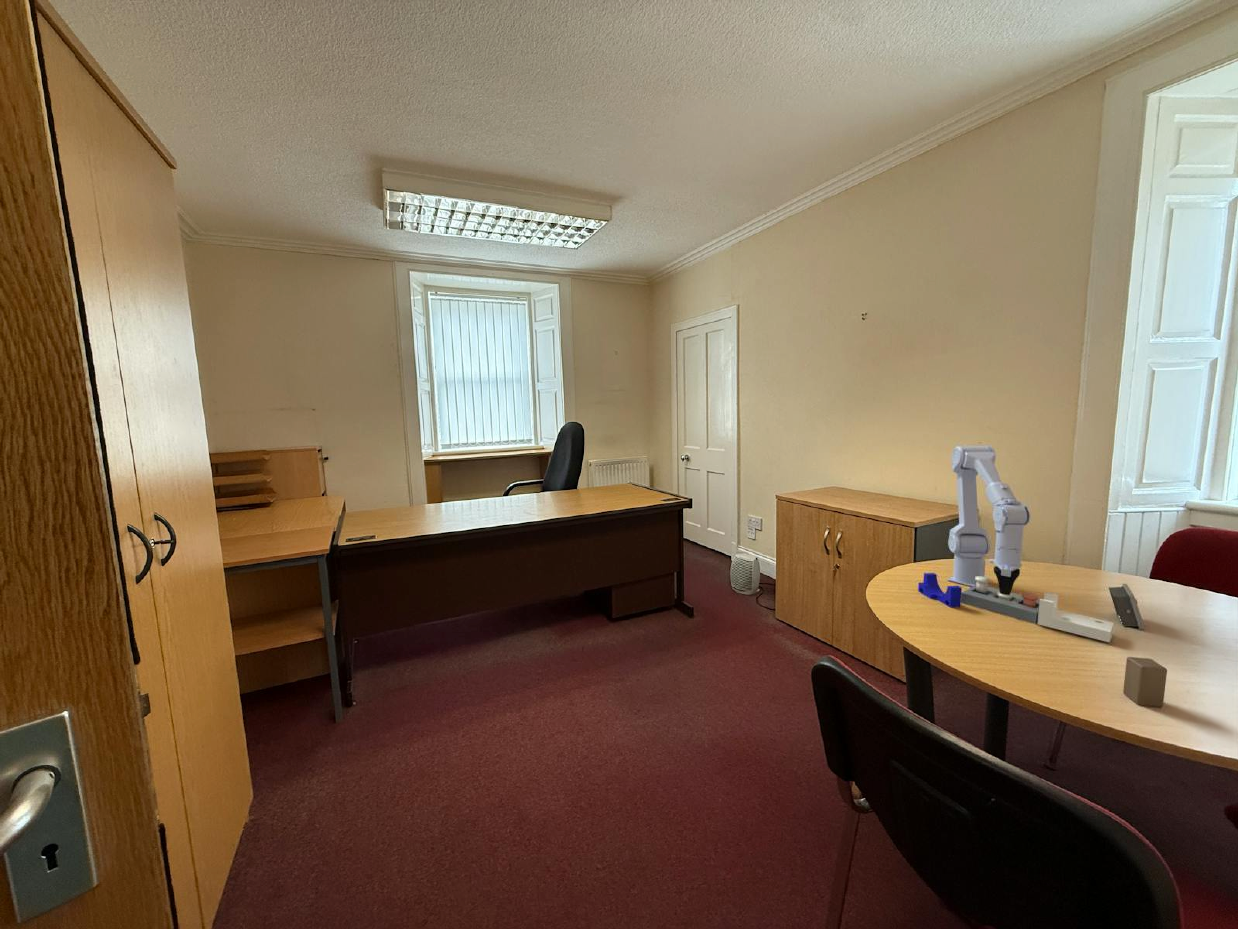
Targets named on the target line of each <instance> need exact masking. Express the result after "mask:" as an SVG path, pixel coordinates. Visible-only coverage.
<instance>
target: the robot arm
mask: <svg viewBox="0 0 1238 929" xmlns="http://www.w3.org/2000/svg"><path fill="white" fill-rule="evenodd" d="M950 457H951V470H952V472H953V473H956V484H957V485H956V486H957V500H958V501H957V504H958V505H957V506H958V520H959V522H958V524H957V525H955V526H954V527H953V528H951V529H949V536H948V542H947V544H948V548H949V550H950V552H951V553H953V554H954V556H953V569H952V570H953V573H952V575H953V576H950V577H948V578H947V580H948V581H950V582H954V583H958V584H961V585H965V586H969V587H973V586H975V585H977V581H976V580H975V577H976V576H982V577H986V576H985V573H986V559H985V557H986V555H988V553H989V552H990V551H991V541H990V539H989V534H988V530H986V529H985V528H983V527H982V526H980V525H979V509H978V489H977V475H979V477H980V478H981V480H982V481H983V482H984V484H985V485H986V488H985V490H984V492H985V494H986V496H987V497H986V498H987V499H988V500H989V502H990V504H991V506H992V508H993V511H992V519H993V523H994V530H996V534H995V545H994V546H995V547H994V557H993V558H989V559H988V563H990V564H994V565H995V566H994V567H993V572H994V574H995V576H996V579H997V584H998V589H999V591H1000V593H1001V594H1006V595H1010V593H1012V591H1013V586H1014V584H1015V582H1016V580H1017V578H1019V576H1020V572H1021V569H1020V568H1022V553H1023V552H1022V551H1023V549H1022V548H1023V537H1024V528H1025V526H1027V525H1028V524H1029V523H1030V519H1031V513H1030V510H1029V508H1028V506H1027V505H1026V504H1024V503H1022V502H1021V501H1018V500H1017V498H1016V497H1015V496H1016V495H1015V494H1014V492H1013V491H1012V489H1011V487H1010V485H1009V484H1007V483H1004V482H1002V480H1001V478H1000V474H999V473H998V470H997V468H996V466H995V462H996V459H997V458H996V457H997V454H996V451H995V449H994V447H993V446H991V445H977V446H976V445H971V446H970V445H969V446H968V445H966V446H964V445H963V446H961V445H957V446H955V447H954V448H953V451H952V452H951V456H950Z"/></svg>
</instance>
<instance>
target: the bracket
mask: <svg viewBox="0 0 1238 929" xmlns="http://www.w3.org/2000/svg"><path fill="white" fill-rule="evenodd" d="M1043 596H1044V597H1043V599H1042V598H1040V599H1039V600H1040V603H1039V614H1038V622H1037V625H1039V626H1043V627H1047V628H1051V629H1055V630H1059V631H1063V632H1065V633H1066V632H1068V633H1072V634H1074V635H1078V636H1079V635H1080V636H1081V637H1085V638H1086V637H1087V638H1090V639H1094V640H1099V641H1102V642H1107V643H1110V642H1111V640H1112V638H1113V636H1114V635H1113V634H1114V633H1113V632H1114V625H1115V623H1114V622H1111V621H1108V620H1103V619H1098V618H1095V617H1090V616H1086V615H1082V614H1078V613H1074V612H1069V611H1064V610H1061V609H1058V604H1059V594H1055V593H1052V592H1050V593H1049V592H1044V595H1043Z"/></svg>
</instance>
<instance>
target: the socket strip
mask: <svg viewBox="0 0 1238 929" xmlns="http://www.w3.org/2000/svg"><path fill="white" fill-rule="evenodd" d="M997 592H1000V591H999V588H995V587H990V586H988V589H987V592H986V593H984V592H979V591H977V590H976V585H975V586H973V587H972V586H970V588H968V589H965V591H961V604H965V605H968V606H972V607H976V608H978V609H982V610H986V611H988V612H992V613H996V614H998V615H1002V616H1006V617H1011V618H1013V619H1016V620H1020V621H1023V622H1027V623H1031V624H1034V625H1036V624H1038V614H1039V603H1040V599H1039V598H1038V600H1036V608H1033V607H1029V606H1025V605H1023V597H1022V594H1018V593H1015V592H1011V594H1012V595H1013V598H1012V599H1011V601H1007V600H1003V599H999V597H998V596H997Z"/></svg>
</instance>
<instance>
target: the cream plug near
mask: <svg viewBox="0 0 1238 929" xmlns="http://www.w3.org/2000/svg"><path fill="white" fill-rule="evenodd" d="M975 580H976V581H977V585H976V590H977V591H979V592H984V593H986V592H987V589H988V587H989V584H990V583H991V579H990V578H989V577H986V576H984V577H982V576H976V577H975Z"/></svg>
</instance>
